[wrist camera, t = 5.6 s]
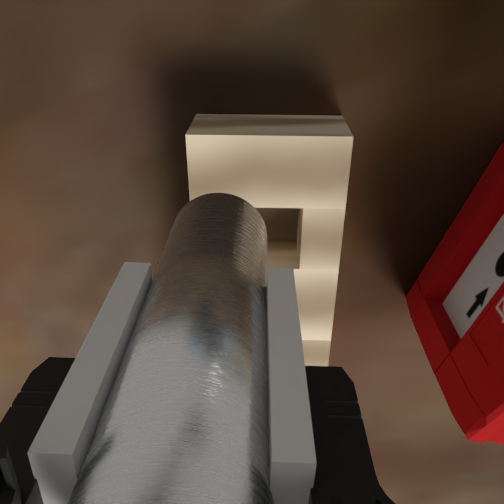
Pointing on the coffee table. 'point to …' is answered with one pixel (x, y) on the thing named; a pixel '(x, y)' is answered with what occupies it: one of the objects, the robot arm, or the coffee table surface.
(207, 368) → the pin
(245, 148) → the bore block
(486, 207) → the fire alarm
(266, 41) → the coffee table surface
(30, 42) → the coffee table surface
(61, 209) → the coffee table surface
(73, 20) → the coffee table surface
